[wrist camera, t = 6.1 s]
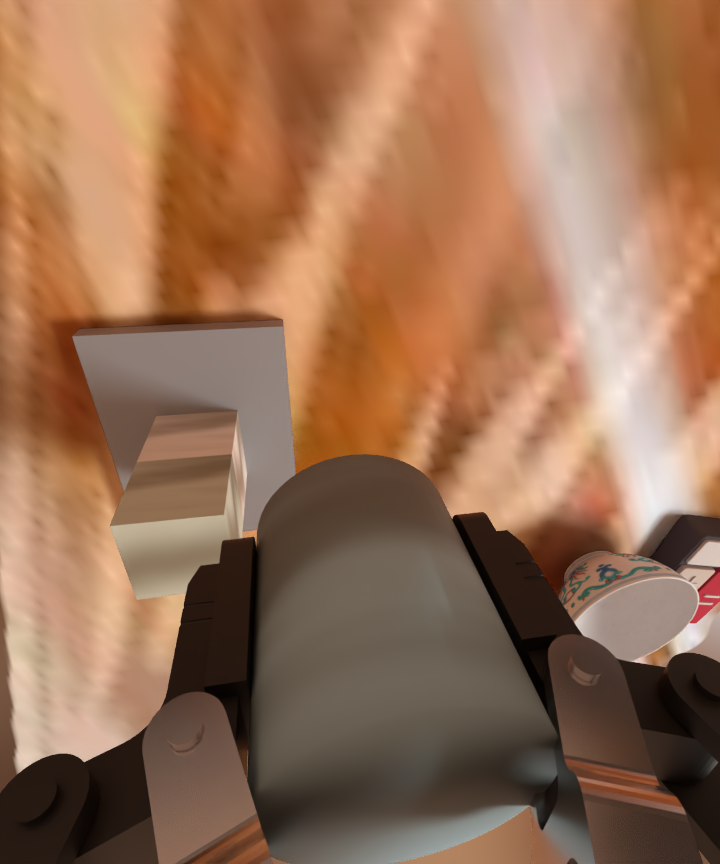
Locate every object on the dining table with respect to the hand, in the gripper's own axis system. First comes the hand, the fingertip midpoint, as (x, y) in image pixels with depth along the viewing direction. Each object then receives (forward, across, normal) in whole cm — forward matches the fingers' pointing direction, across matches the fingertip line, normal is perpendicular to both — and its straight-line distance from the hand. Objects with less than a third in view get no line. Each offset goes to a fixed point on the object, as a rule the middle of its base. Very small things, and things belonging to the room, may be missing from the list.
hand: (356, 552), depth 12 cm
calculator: (+27, -45, +36) cm, 64 cm away
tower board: (+26, +8, +12) cm, 30 cm away
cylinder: (+1, 0, 0) cm, 1 cm away
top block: (+18, +8, +12) cm, 23 cm away
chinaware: (+26, -32, +35) cm, 54 cm away
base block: (+24, +8, +12) cm, 28 cm away
